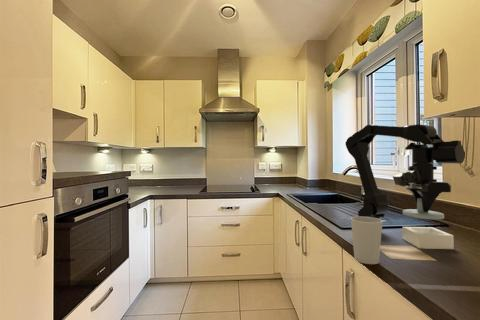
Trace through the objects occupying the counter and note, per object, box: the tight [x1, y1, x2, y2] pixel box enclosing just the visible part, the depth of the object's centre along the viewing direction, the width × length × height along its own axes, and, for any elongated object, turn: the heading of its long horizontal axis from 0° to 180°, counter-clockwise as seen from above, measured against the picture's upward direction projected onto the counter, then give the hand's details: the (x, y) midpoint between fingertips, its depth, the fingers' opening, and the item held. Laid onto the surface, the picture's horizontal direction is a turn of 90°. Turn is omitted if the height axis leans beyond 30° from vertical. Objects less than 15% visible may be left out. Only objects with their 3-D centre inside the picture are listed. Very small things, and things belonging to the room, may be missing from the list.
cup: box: [350, 215, 384, 265], centre depth 72 cm, size 8×8×12 cm
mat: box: [380, 244, 438, 262], centre depth 78 cm, size 12×12×1 cm
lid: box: [402, 198, 445, 221], centre depth 84 cm, size 11×11×6 cm
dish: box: [402, 226, 455, 250], centre depth 85 cm, size 10×10×5 cm
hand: (422, 210), depth 84 cm, fingers closed on lid, 3 cm apart
